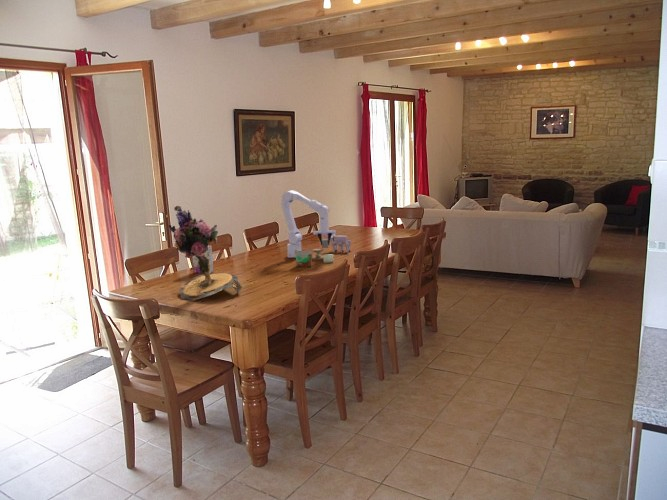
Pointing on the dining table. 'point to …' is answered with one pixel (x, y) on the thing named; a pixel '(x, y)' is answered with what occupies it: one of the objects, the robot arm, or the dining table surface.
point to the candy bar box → (207, 255)
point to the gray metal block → (324, 243)
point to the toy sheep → (339, 242)
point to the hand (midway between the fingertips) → (325, 244)
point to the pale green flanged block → (328, 258)
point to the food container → (303, 258)
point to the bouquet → (199, 257)
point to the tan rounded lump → (318, 254)
